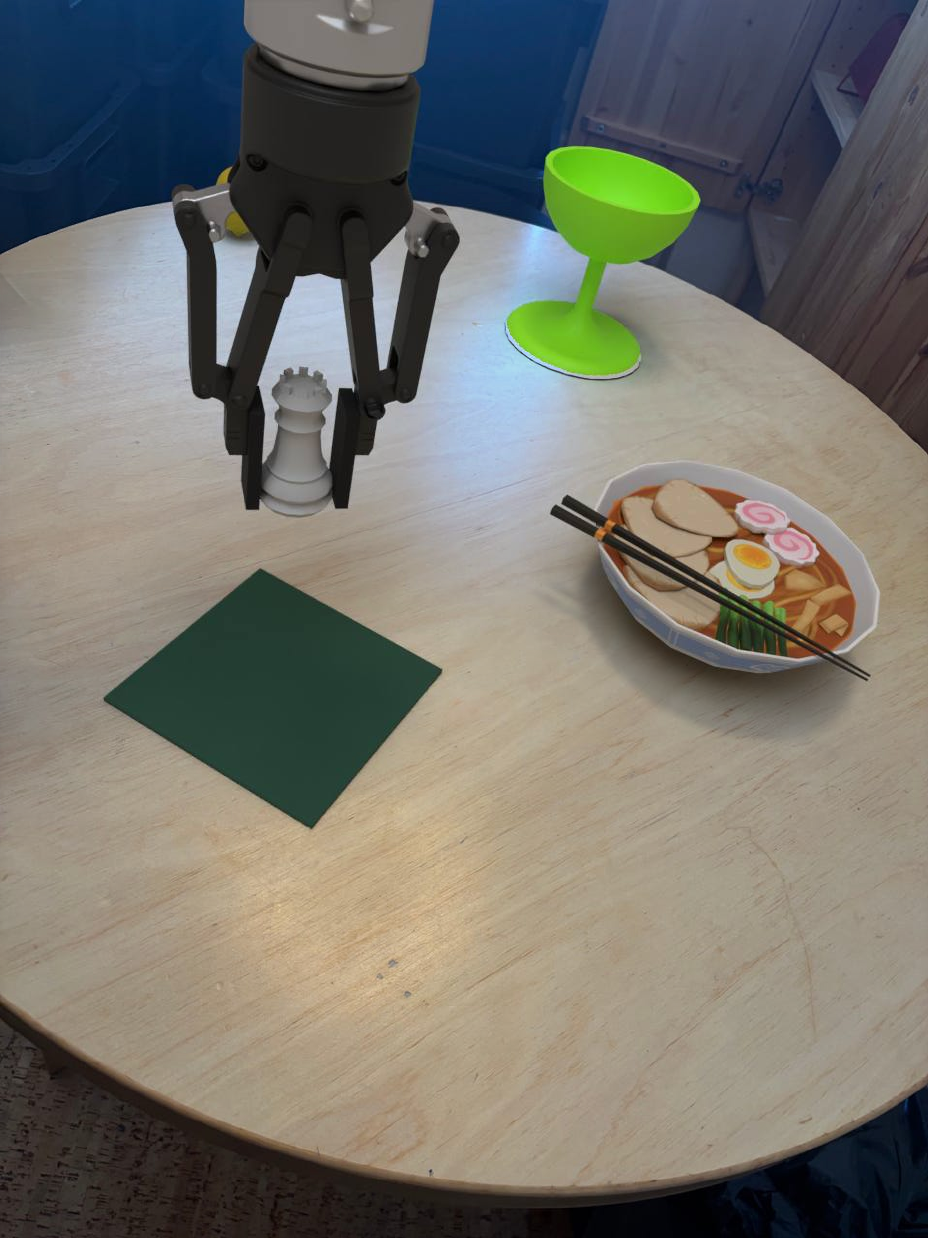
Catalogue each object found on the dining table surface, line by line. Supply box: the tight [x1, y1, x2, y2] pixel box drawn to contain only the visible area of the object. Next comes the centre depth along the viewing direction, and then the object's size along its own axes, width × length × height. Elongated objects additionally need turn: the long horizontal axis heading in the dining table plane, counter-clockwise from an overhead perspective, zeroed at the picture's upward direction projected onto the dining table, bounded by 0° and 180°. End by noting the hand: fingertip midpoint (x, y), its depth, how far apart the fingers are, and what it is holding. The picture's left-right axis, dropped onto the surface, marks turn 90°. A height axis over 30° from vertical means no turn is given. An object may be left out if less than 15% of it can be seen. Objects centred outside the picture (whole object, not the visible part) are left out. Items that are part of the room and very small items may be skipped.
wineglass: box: [506, 145, 701, 376], centre depth 101 cm, size 16×16×18 cm
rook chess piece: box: [260, 365, 333, 519], centre depth 53 cm, size 4×4×8 cm
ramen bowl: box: [549, 459, 881, 682], centre depth 75 cm, size 25×23×8 cm
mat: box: [103, 567, 443, 829], centre depth 64 cm, size 16×16×1 cm
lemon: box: [215, 166, 250, 237], centre depth 106 cm, size 6×6×8 cm
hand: (294, 494), depth 56 cm, fingers closed on rook chess piece, 4 cm apart
